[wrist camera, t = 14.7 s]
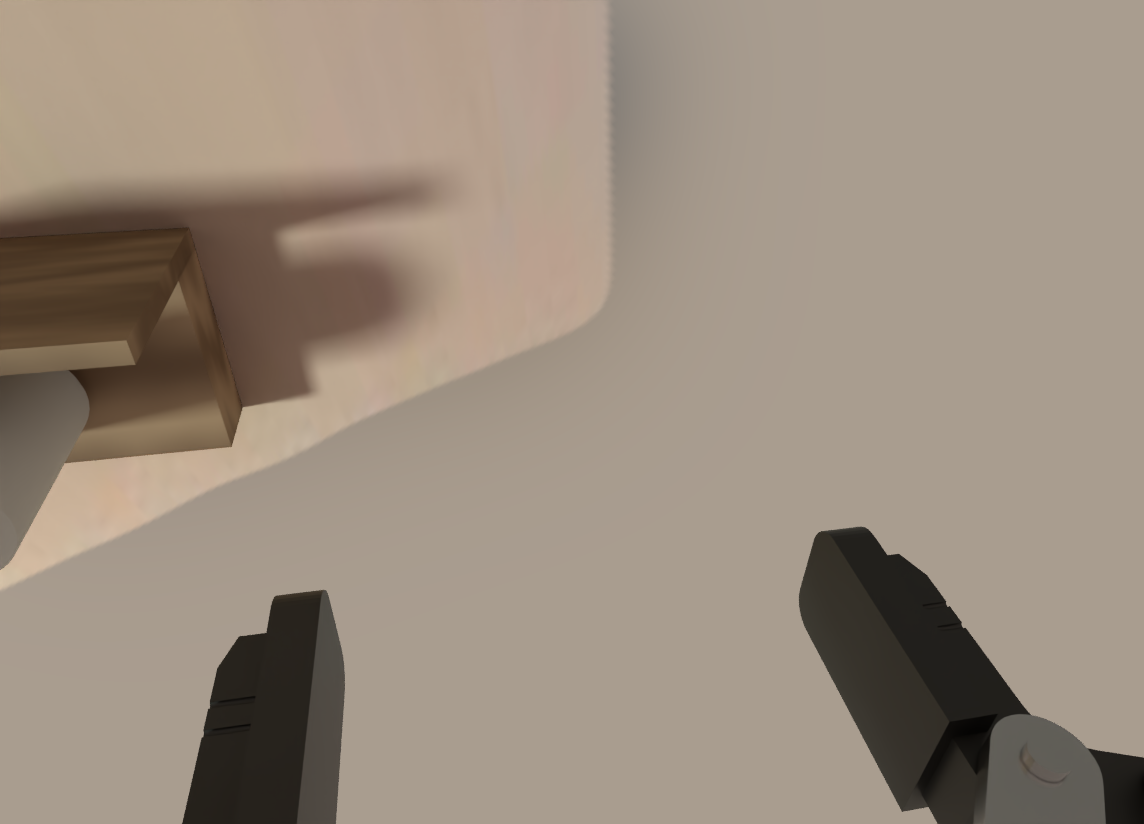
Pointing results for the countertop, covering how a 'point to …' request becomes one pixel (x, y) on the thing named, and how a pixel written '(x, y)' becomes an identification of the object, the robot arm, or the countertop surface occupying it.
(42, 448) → the beverage can
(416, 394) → the countertop surface
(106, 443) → the walnut shelf
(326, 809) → the robot arm
